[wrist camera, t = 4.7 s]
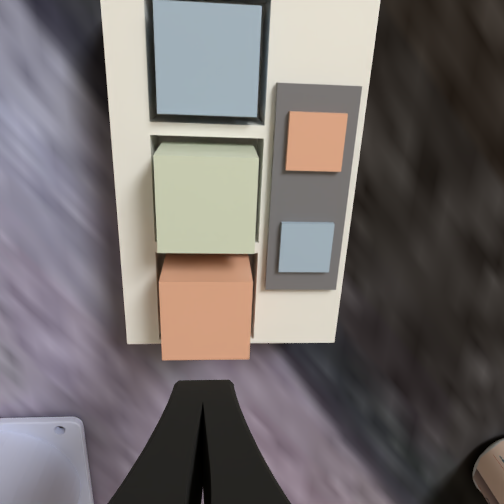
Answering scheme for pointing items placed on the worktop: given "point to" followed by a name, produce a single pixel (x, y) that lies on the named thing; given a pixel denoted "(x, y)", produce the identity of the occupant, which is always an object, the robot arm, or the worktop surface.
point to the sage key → (206, 197)
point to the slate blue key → (207, 58)
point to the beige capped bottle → (491, 473)
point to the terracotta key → (205, 306)
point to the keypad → (268, 150)
